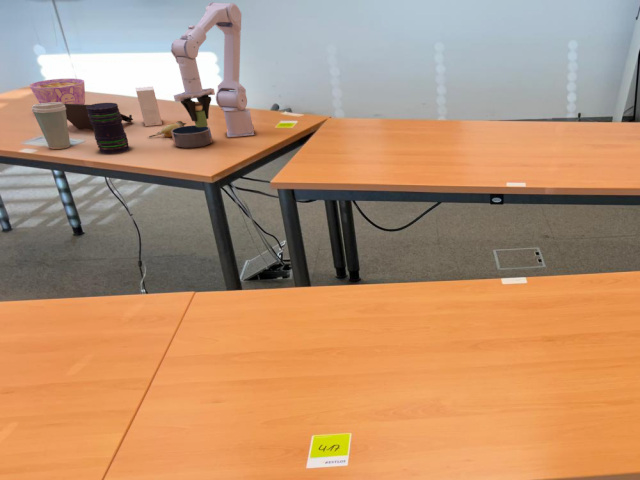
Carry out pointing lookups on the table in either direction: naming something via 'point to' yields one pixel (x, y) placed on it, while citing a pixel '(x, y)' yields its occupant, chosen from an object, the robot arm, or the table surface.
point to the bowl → (191, 136)
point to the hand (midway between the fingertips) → (200, 119)
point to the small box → (148, 106)
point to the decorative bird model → (169, 129)
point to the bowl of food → (59, 91)
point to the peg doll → (200, 115)
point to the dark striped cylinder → (108, 128)
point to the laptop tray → (83, 116)
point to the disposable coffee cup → (53, 123)
